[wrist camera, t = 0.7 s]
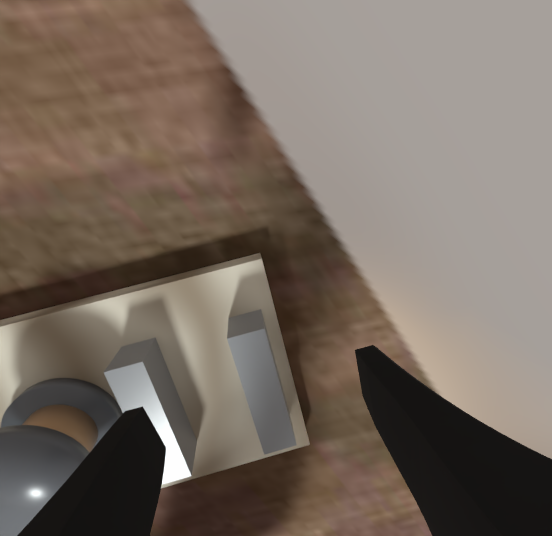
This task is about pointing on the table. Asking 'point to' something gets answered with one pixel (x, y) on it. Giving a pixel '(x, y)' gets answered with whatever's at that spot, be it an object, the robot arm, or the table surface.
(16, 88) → the table surface
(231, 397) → the board
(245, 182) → the table surface
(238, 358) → the gray parallel rails
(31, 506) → the bobbin
